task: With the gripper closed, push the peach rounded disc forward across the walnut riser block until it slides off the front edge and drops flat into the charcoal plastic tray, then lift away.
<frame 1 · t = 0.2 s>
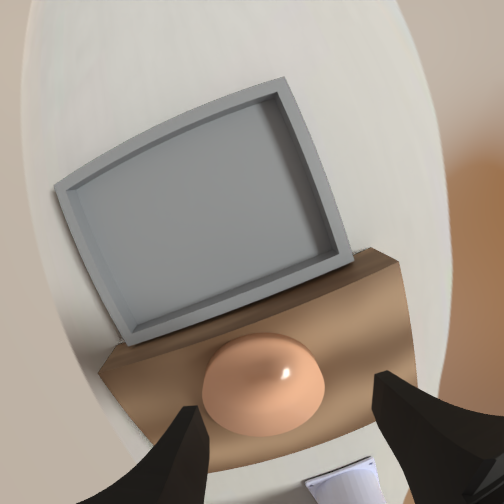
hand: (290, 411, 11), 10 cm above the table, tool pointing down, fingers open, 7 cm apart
riser: (267, 369, 21), on the table
peach rounded disc: (262, 381, 17), point 4 cm above the table, touching riser
tray: (198, 215, 19), on the table
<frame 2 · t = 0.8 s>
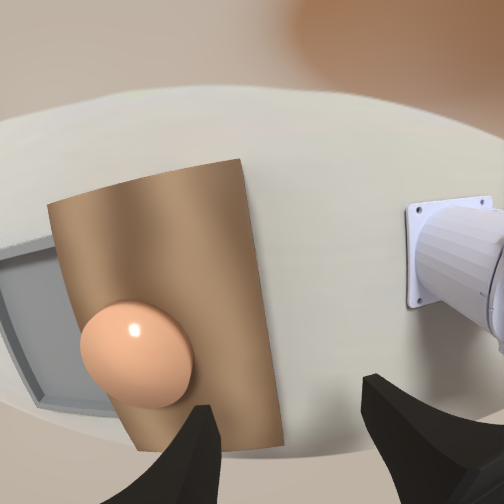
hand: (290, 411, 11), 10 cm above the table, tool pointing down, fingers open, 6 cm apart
riser: (181, 321, 21), on the table
peach rounded disc: (139, 351, 17), point 4 cm above the table, touching riser
tray: (53, 331, 21), on the table
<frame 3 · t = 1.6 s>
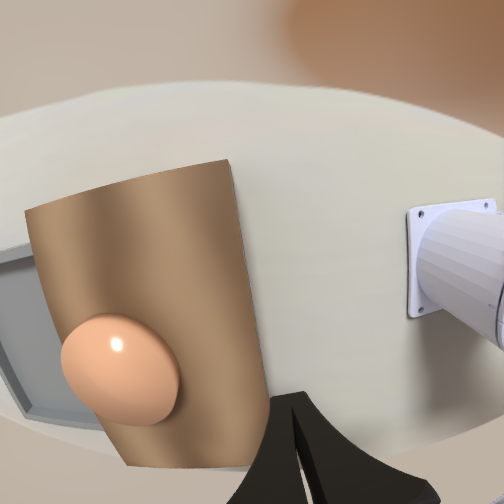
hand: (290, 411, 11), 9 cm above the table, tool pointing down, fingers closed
riser: (168, 333, 19), on the table
peach rounded disc: (123, 366, 15), point 4 cm above the table, touching riser
tray: (38, 341, 19), on the table
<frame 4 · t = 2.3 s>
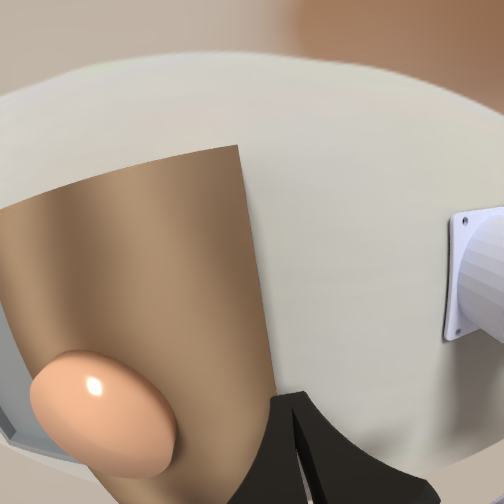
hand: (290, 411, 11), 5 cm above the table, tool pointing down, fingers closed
riser: (161, 366, 15), on the table
peach rounded disc: (106, 411, 11), point 4 cm above the table, touching riser
tray: (14, 366, 15), on the table
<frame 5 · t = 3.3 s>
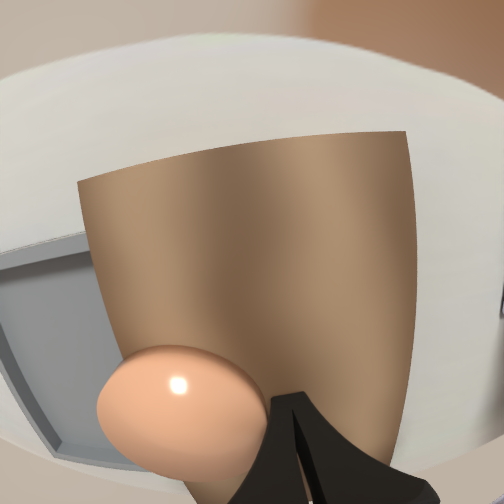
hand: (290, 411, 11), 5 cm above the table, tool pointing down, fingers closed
riser: (271, 353, 15), on the table
peach rounded disc: (185, 412, 11), point 4 cm above the table, touching riser
tray: (74, 368, 15), on the table
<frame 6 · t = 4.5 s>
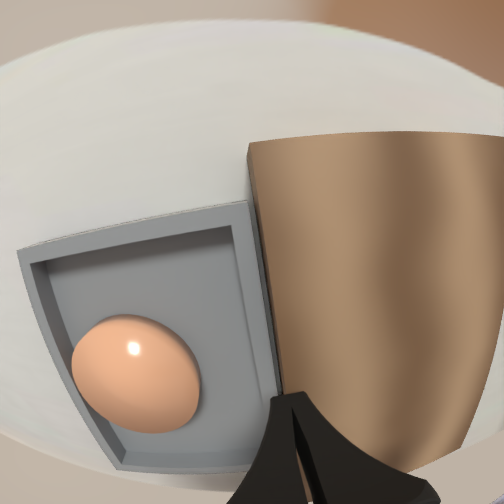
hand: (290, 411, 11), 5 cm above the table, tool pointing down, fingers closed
riser: (381, 330, 15), on the table
peach rounded disc: (131, 387, 13), point 2 cm above the table, tilted 179°, touching tray
tray: (162, 366, 15), on the table
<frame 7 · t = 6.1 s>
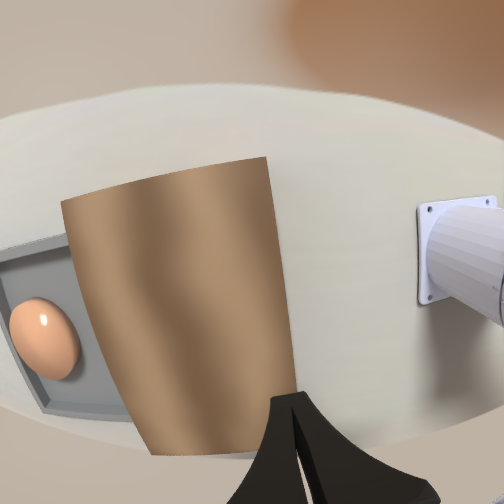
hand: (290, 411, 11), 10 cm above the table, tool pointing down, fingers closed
riser: (197, 321, 21), on the table
peach rounded disc: (38, 343, 19), point 2 cm above the table, tilted 179°, touching tray
tray: (61, 334, 21), on the table
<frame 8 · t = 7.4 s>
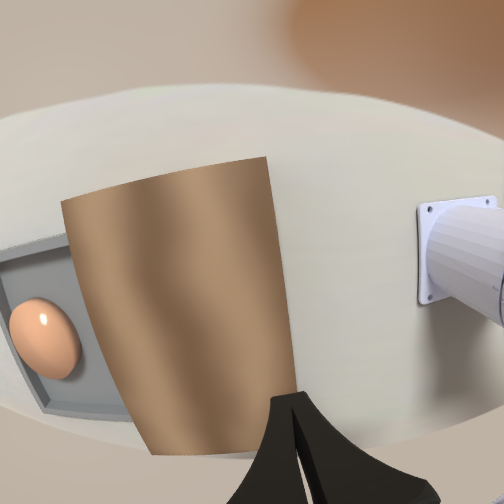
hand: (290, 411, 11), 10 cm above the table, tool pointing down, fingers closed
riser: (197, 321, 21), on the table
peach rounded disc: (38, 344, 19), point 2 cm above the table, tilted 179°, touching tray
tray: (61, 333, 21), on the table
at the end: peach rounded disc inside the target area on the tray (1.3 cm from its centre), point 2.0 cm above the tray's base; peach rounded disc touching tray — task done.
